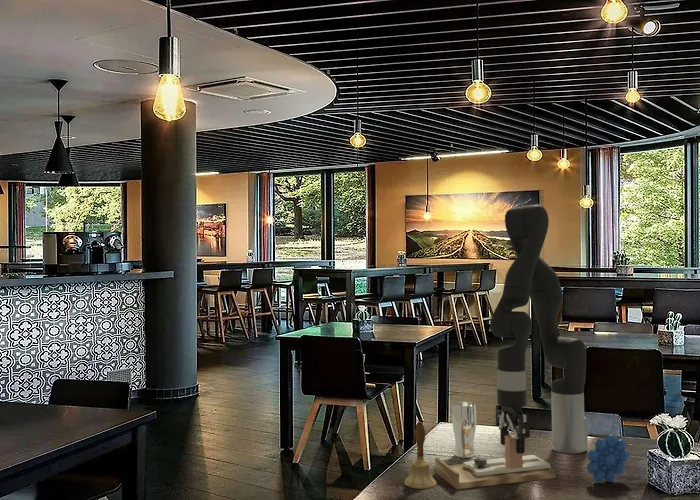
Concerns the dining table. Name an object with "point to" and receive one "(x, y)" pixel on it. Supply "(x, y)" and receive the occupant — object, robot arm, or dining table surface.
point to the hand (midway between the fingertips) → (512, 448)
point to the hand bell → (420, 464)
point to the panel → (503, 469)
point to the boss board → (467, 479)
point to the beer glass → (464, 428)
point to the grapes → (607, 458)
